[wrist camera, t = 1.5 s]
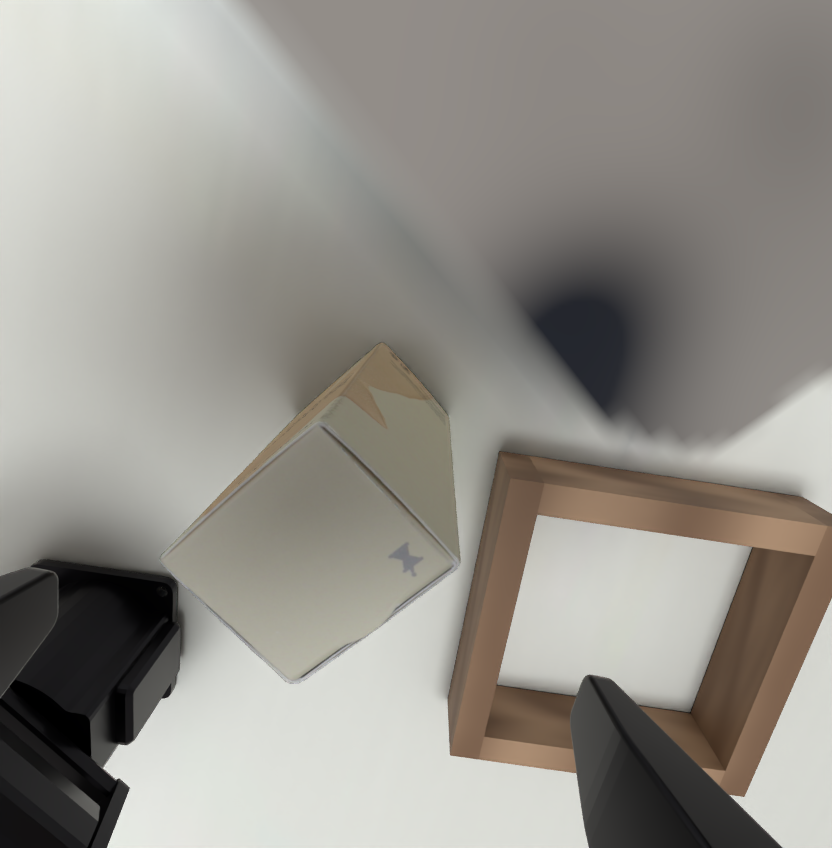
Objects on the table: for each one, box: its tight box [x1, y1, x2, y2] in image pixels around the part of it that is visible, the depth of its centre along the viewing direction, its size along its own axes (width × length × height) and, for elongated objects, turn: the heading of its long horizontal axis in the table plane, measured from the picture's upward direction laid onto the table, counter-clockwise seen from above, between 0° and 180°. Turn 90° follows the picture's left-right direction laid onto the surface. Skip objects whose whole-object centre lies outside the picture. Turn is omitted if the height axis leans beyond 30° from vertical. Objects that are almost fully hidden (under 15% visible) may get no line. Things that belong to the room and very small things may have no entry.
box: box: [159, 343, 460, 684], centre depth 16 cm, size 5×4×11 cm
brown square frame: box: [448, 451, 832, 797], centre depth 22 cm, size 13×13×3 cm
